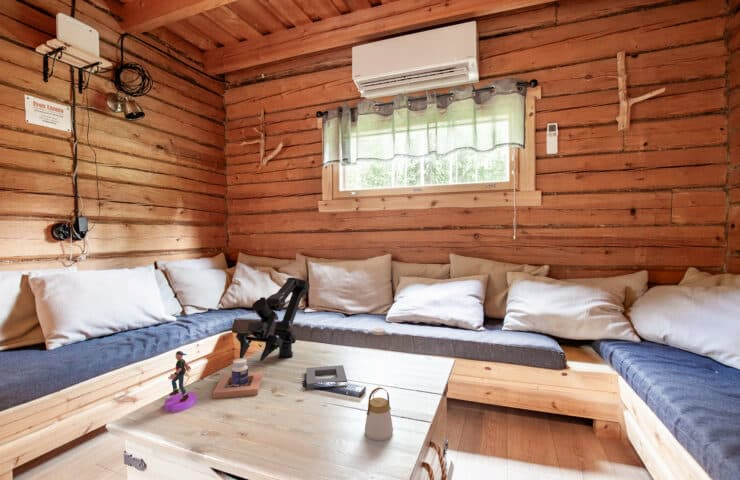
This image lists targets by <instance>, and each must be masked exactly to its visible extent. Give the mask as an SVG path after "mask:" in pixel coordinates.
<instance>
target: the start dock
mask: <svg viewBox="0 0 740 480" xmlns="http://www.w3.org/2000/svg"><path fill="white" fill-rule="evenodd" d="M305 369H306V370H305V371H306V378H305V379H306V383H307V384H306V390H315V389H314V384H317V383H319V382H320V383H321V382H322V383H324V382H347V383H348V379H347V376H346V372H345V367H344V365H341V364H339V365H329V366H328V365H327V366H315V367H314V366H313V367H306V368H305ZM322 374H326V375H335V376H336V377H330V378H328V377H327V378H317V379H316V376H321V375H322ZM322 376H323V375H322Z"/></svg>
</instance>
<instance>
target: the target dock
mask: <svg viewBox="0 0 740 480" xmlns="http://www.w3.org/2000/svg"><path fill="white" fill-rule="evenodd" d="M263 378H264V372H263V371H257V372H248V382H251V383H250V385H248V386H243V387H232V386H231V387H228V386H229V384H230V383H231V384H232V373H229V374H228V373H227V374H222V376H221V378H220V379H219V381H218V383H217V385H216V386H215V389H214V390H213V391H212V399H221V398H230V397H231V398H232V397H245V396H257V395H259V392H260V389H261V385H262V381H263Z"/></svg>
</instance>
